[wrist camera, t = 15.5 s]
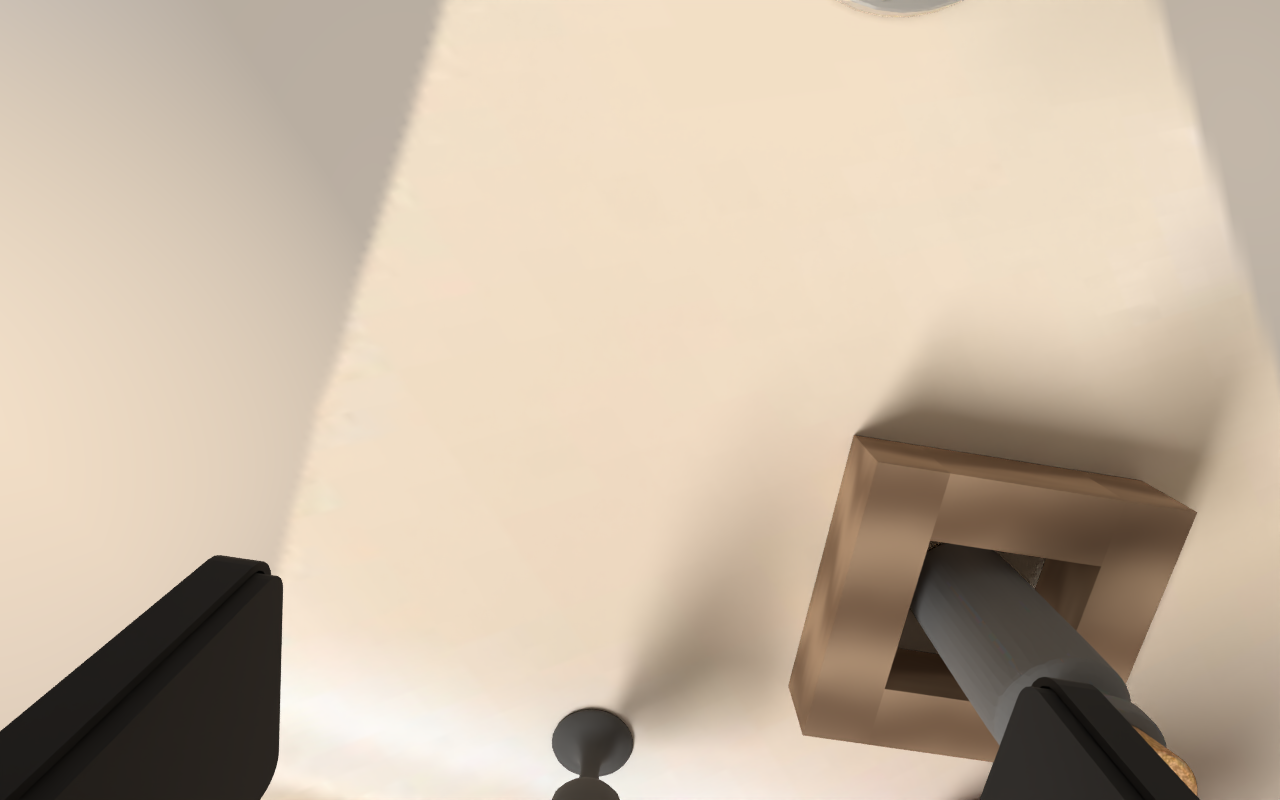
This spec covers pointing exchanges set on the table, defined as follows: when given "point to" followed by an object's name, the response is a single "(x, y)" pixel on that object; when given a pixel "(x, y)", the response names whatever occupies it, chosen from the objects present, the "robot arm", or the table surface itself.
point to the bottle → (1012, 641)
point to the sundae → (590, 753)
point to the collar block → (977, 517)
